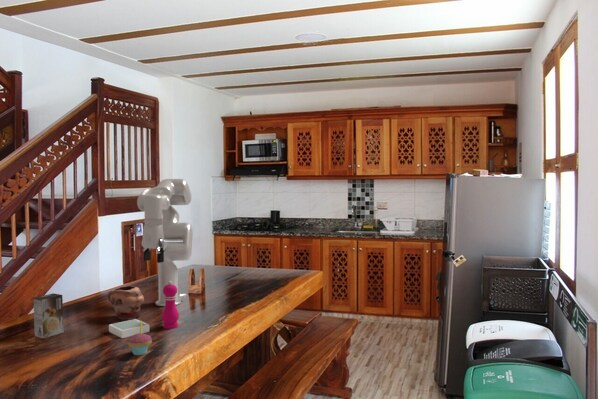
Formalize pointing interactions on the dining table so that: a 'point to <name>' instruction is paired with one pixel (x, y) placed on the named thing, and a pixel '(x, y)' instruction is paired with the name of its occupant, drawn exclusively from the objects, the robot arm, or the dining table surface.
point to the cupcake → (139, 342)
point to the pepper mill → (170, 307)
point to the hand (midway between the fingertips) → (153, 261)
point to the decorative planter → (126, 301)
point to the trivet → (128, 328)
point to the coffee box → (48, 315)
